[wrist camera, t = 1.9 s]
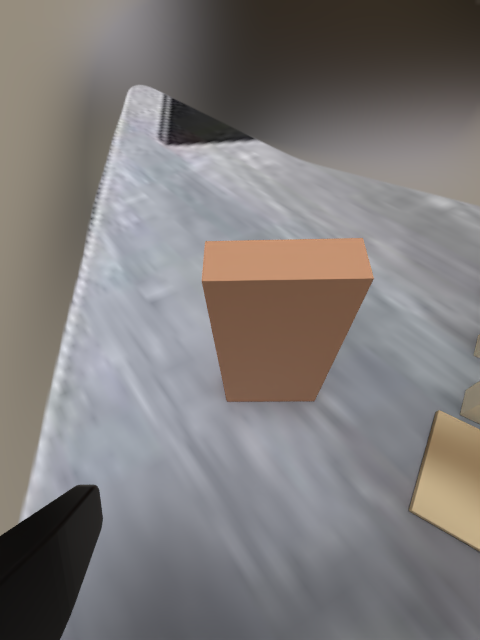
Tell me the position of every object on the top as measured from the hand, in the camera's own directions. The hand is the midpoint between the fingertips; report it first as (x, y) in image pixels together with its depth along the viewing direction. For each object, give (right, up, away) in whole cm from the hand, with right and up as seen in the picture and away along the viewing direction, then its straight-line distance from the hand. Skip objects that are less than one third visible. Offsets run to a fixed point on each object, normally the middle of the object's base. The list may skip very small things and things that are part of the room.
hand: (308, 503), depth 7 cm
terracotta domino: (0, -1, +14) cm, 14 cm away
